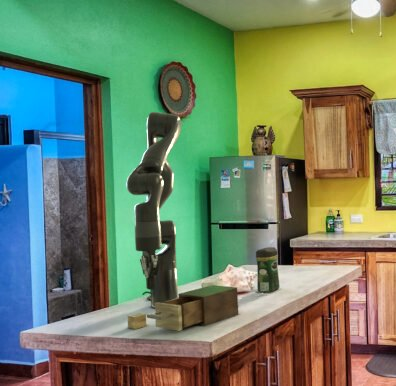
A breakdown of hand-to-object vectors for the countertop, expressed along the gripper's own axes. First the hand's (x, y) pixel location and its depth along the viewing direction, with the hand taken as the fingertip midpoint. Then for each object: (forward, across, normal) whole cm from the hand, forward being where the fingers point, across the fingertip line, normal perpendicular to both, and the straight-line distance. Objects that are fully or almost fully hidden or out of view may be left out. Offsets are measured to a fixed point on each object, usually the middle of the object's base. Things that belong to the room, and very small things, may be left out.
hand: (150, 288), depth 156 cm
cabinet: (+14, 0, -18) cm, 23 cm away
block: (+14, +9, +2) cm, 16 cm away
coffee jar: (+14, +24, -54) cm, 60 cm away
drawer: (+13, -4, -7) cm, 15 cm away
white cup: (+14, +15, -26) cm, 33 cm away
